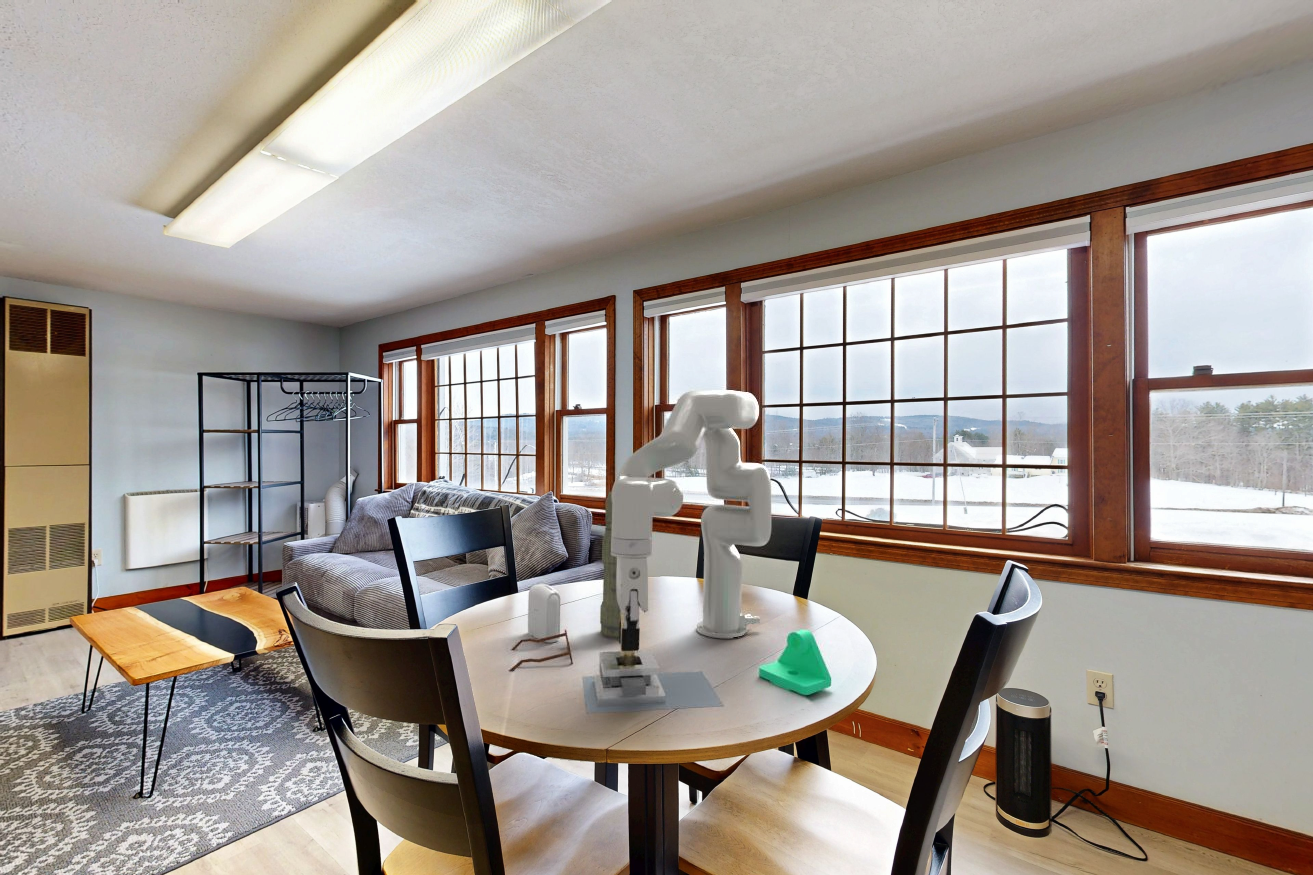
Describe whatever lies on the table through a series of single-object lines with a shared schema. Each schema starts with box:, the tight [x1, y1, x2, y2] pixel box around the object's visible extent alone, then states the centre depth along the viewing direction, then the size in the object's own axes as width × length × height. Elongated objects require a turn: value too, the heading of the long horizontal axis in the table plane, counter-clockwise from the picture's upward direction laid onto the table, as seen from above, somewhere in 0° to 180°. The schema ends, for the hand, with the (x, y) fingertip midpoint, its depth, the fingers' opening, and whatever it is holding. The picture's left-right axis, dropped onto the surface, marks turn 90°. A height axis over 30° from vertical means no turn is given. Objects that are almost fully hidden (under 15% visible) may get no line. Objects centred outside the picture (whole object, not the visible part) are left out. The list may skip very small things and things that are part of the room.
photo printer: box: [527, 583, 561, 644], centre depth 140 cm, size 10×4×12 cm, turn 39°
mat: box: [582, 671, 725, 714], centre depth 109 cm, size 24×16×1 cm, turn 100°
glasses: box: [508, 628, 574, 672], centre depth 126 cm, size 13×13×5 cm
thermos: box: [599, 491, 621, 640], centre depth 144 cm, size 9×12×35 cm
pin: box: [619, 608, 637, 666], centre depth 108 cm, size 4×4×15 cm
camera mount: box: [758, 629, 832, 696], centre depth 114 cm, size 12×8×10 cm, turn 37°
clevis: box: [593, 649, 666, 706], centre depth 107 cm, size 12×14×6 cm
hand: (628, 645), depth 108 cm, fingers closed on pin, 3 cm apart
